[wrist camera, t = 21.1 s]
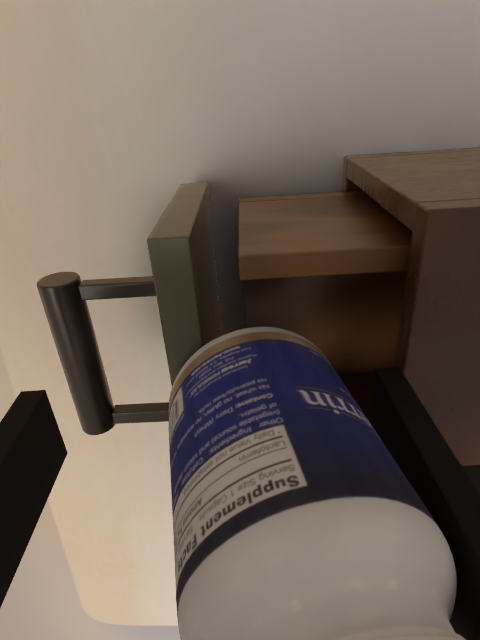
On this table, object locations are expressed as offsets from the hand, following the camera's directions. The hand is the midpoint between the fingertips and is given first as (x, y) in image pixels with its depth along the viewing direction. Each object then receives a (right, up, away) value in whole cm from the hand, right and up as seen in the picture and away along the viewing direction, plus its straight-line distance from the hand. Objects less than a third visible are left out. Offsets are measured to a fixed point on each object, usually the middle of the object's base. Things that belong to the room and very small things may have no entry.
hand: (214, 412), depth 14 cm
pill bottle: (+1, +1, +1) cm, 2 cm away
